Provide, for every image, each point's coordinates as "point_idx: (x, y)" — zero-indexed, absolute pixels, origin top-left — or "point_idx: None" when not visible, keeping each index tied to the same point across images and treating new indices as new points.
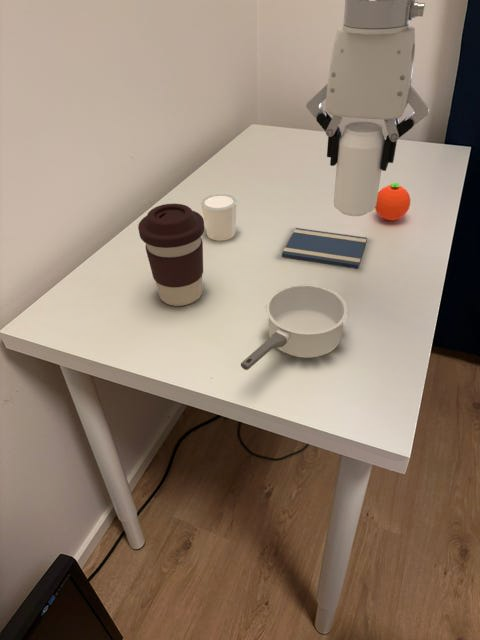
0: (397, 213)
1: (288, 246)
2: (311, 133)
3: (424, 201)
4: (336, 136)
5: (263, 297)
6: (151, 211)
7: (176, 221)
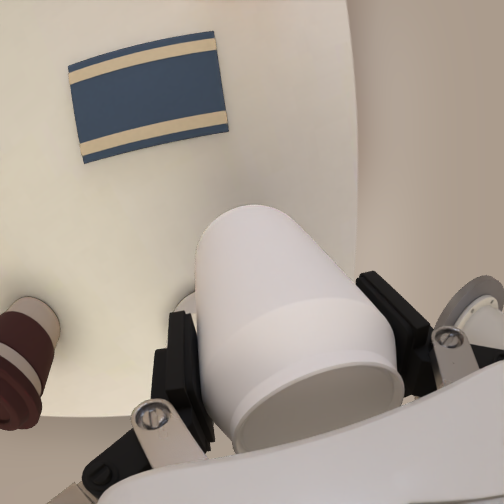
0: None
1: (83, 135)
2: None
3: None
4: (205, 441)
5: (123, 279)
6: None
7: (16, 424)
